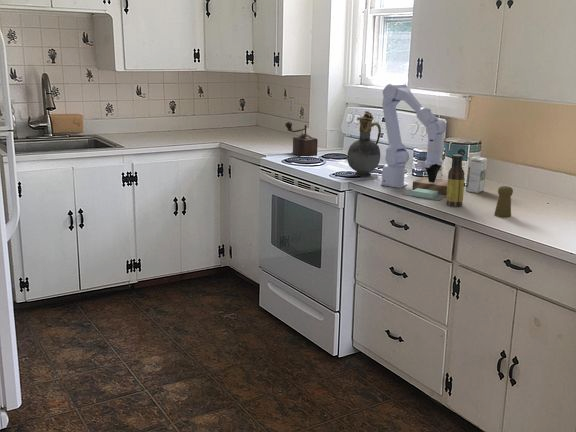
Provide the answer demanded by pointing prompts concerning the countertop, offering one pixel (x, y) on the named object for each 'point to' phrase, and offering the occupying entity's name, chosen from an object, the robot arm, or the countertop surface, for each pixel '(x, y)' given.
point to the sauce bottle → (455, 182)
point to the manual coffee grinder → (303, 143)
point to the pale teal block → (424, 193)
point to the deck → (431, 185)
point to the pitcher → (364, 148)
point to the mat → (424, 197)
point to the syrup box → (476, 174)
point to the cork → (504, 202)
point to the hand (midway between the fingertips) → (431, 182)
